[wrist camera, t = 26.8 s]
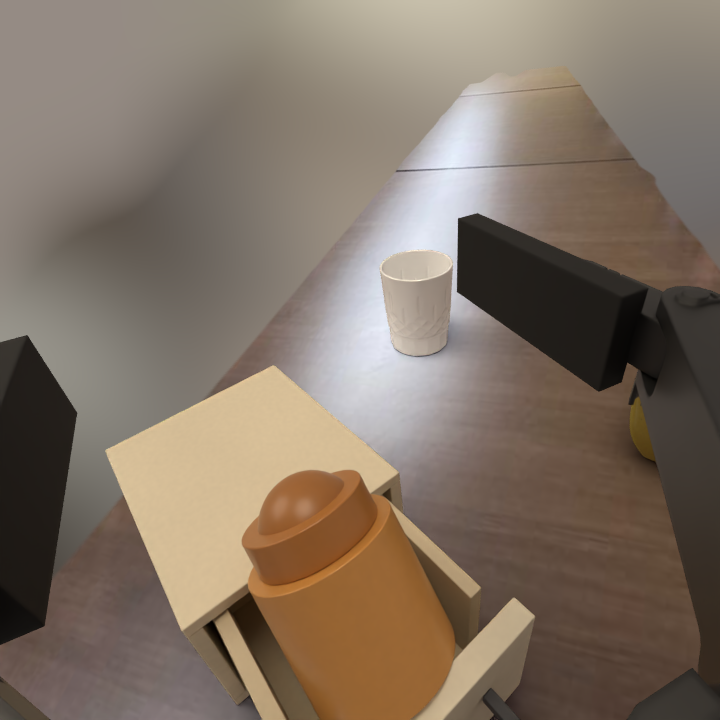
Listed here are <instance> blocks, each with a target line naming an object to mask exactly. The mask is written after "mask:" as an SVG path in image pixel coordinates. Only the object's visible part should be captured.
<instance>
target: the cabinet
mask: <svg viewBox="0 0 720 720" xmlns="http://www.w3.org/2000/svg"><path fill="white" fill-rule="evenodd" d="M106 454H107V456H108V459H109V461H110V464H111V466H112V468H113V471H114V473H115V475H116V478H117V480H118V482H119V485H120V487H121V490H122V492H123V494H124V497H125V499H126V501H127V504H128V506H129V508H130V511H131V513H132V515H133V518H134V520H135V523H136V525H137V527H138V530H139V532H140V534H141V537H142V539H143V541H144V544H145V546H146V548H147V551H148V553H149V556H150V558H151V560H152V563H153V565H154V567H155V570H156V572H157V574H158V577H159V579H160V581H161V584H162V586H163V589H164V591H165V593H166V596H167V598H168V600H169V603H170V605H171V607H172V610H173V612H174V614H175V617H176V619H177V622H178V624H179V626H180V629H181V631H182V632H183V634H184V635H185V636H186V637H187V639H188V640H189V642H190V643H191V644H192V646H193V647H194V648H195V650H196V651H197V652H198V654H199V655H200V656H201V658H202V659H203V660H204V662H205V663H206V664H207V666H208V667H209V668H210V670H211V671H212V672H213V674H214V675H215V676H216V678H217V679H218V680H219V682H220V683H221V684H222V686H223V687H224V688H225V690H226V691H227V692H228V694H229V695H230V696H231V698H232V699H233V700H234V702H235V703H236V704H237V705H239V704H240V703H241V702H242V701H243V700H245V699H246V698H247V697H248V696H249V695H250V694H249V692H248V690H247V688H246V686H245V684H244V682H243V680H242V678H241V676H240V674H239V672H238V670H237V668H236V666H235V664H234V662H233V660H232V658H231V656H230V653H229V651H228V649H227V647H226V645H225V643H224V641H223V639H222V637H221V635H220V633H219V631H218V629H217V627H216V625H215V623H214V621H213V619H214V618H215V617H217V616H218V615H219V614H221V613H222V612H223V611H225V610H226V609H227V608H229V607H230V606H231V605H233V604H234V603H235V602H237V601H238V600H240V599H241V598H242V597H244V596H245V595H246V594H248V593H249V592H250V591H249V588H248V579H249V575H250V572H251V570H252V569H253V567H254V566H253V564H252V562H251V561H250V559H249V557H248V555H247V553H246V551H245V550H244V548H243V546H242V536H243V534H244V532H245V531H246V529H247V528H248V527H249V525H250V524H251V523H252V522H253V521H254V520H255V519H256V518H257V517H258V516H259V514H260V510H261V507H262V505H263V502H264V500H265V499H266V497H267V495H268V494H269V492H270V491H271V490H272V489H273V487H274V486H276V485H277V484H278V483H279V482H280V481H281V480H283V479H284V478H286V477H287V476H289V475H291V474H294V473H297V472H300V471H305V470H320V471H325V472H328V473H333V472H337V471H342V470H355V471H357V472H358V473H360V475H361V477H362V479H363V481H364V483H365V485H366V487H367V489H368V490H369V492H370V494H375V495H381V494H382V495H383V496H384V497H385V498H387V499H388V500H389V501H390V502H391V503H392V504H393V505H394V506H395V507H396V508H397V509H398V510H399V511H400V512H401V513H402V514H403V506H402V496H401V486H400V476H399V472H398V471H397V470H396V469H395V468H393V467H392V466H391V465H390V464H389V463H388V462H386V461H385V460H384V459H383V458H382V457H381V456H379V455H378V454H377V453H376V452H375V451H373V450H372V449H371V448H370V447H369V446H368V445H366V444H365V443H364V442H363V441H362V440H361V439H359V438H358V437H357V436H356V435H355V434H354V433H352V432H351V431H350V430H349V429H348V428H347V427H345V426H344V425H343V424H342V423H341V422H340V421H338V420H337V419H336V418H335V417H334V416H333V415H331V414H330V413H329V412H328V411H327V410H326V409H324V408H323V407H322V406H321V405H320V404H319V403H317V402H316V401H315V400H314V399H313V398H312V397H310V396H309V395H308V394H307V393H306V392H305V391H303V390H302V389H301V388H300V387H299V386H298V385H296V384H295V383H294V382H293V381H292V380H291V379H289V378H288V377H287V376H286V375H285V374H284V373H282V372H281V371H280V370H279V369H278V368H277V367H275V366H274V365H273V366H271V367H269V368H267V369H265V370H263V371H261V372H259V373H257V374H255V375H253V376H251V377H249V378H247V379H245V380H243V381H241V382H239V383H237V384H235V385H233V386H231V387H230V388H228V389H226V390H224V391H222V392H220V393H218V394H216V395H214V396H212V397H210V398H208V399H206V400H204V401H202V402H200V403H198V404H196V405H194V406H192V407H190V408H188V409H186V410H184V411H182V412H180V413H178V414H176V415H174V416H172V417H170V418H168V419H166V420H164V421H162V422H160V423H158V424H156V425H154V426H153V427H150V428H148V429H146V430H144V431H142V432H141V433H138V434H137V435H135V436H133V437H131V438H129V439H127V440H125V441H123V442H121V443H119V444H117V445H115V446H113V447H111V448H109V449H107V450H106Z"/></svg>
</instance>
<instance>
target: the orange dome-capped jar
mask: <svg viewBox="0 0 720 720" xmlns="http://www.w3.org/2000/svg"><path fill="white" fill-rule="evenodd" d="M242 546H243V548H244V550H245V551H246V553H247V555H248V557H249V559H250V561H251V562H252V564H253V566H254V567H253V569H252V570H251V572H250V575H249V579H248V588H249V591H250V593H251V595H252V596H253V598H254V600H255V602H256V604H257V606H258V607H259V609H260V611H261V613H262V615H263V617H264V618H265V620H266V622H267V624H268V626H269V627H270V629H271V631H272V633H273V635H274V637H275V638H276V640H277V642H278V644H279V646H280V648H281V649H282V651H283V653H284V655H285V657H286V659H287V660H288V662H289V664H290V666H291V668H292V670H293V671H294V673H295V675H296V677H297V679H298V681H299V682H300V684H301V686H302V688H303V690H304V691H305V693H306V695H307V697H308V699H309V701H310V702H311V704H312V706H313V708H314V710H315V712H316V713H317V715H318V717H319V719H320V720H410V719H411V718H413V717H414V716H415V715H416V714H418V713H419V712H420V711H421V710H422V709H423V708H424V707H425V706H426V705H427V704H428V703H429V702H430V701H431V699H432V698H433V697H434V696H435V695H436V693H437V692H438V690H439V689H440V688H441V686H442V685H443V683H444V681H445V679H446V677H447V675H448V673H449V671H450V668H451V666H452V662H453V658H454V654H455V635H454V630H453V627H452V625H451V623H450V621H449V619H448V617H447V615H446V613H445V611H444V609H443V607H442V605H441V603H440V601H439V599H438V597H437V595H436V593H435V591H434V589H433V587H432V585H431V583H430V581H429V579H428V578H427V576H426V574H425V572H424V570H423V568H422V566H421V564H420V562H419V560H418V558H417V556H416V554H415V552H414V550H413V548H412V546H411V544H410V542H409V540H408V538H407V536H406V534H405V532H404V530H403V528H402V527H401V525H400V523H399V521H398V519H397V517H396V515H395V513H394V511H393V509H392V507H391V505H390V503H389V501H388V500H387V499H386V498H384V497H383V496H380V495H375V494H370V492H369V490H368V489H367V487H366V485H365V483H364V481H363V479H362V477H361V475H360V473H358V472H357V471H355V470H342V471H337V472H333V473H328V472H325V471H320V470H305V471H300V472H297V473H294V474H291V475H289V476H287V477H286V478H284V479H283V480H281V481H280V482H279V483H278V484H277V485H276V486H274V487H273V489H272V490H271V491H270V492H269V494H268V495H267V497H266V499H265V500H264V502H263V505H262V507H261V510H260V514H259V516H258V517H257V518H256V519H255V520H254V521H253V522H252V523H251V524H250V525H249V527H248V528H247V529H246V531H245V532H244V534H243V536H242Z"/></svg>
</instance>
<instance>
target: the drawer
mask: <svg viewBox="0 0 720 720" xmlns="http://www.w3.org/2000/svg"><path fill="white" fill-rule="evenodd" d="M380 496H383V495H382V494H381V495H380ZM383 497H384V496H383ZM384 498H385V497H384ZM386 499H387V498H386ZM387 500H388V499H387ZM388 501H389V500H388ZM389 503H390V505H391V507H392V509H393V511H394V513H395V515H396V517H397V519H398V521H399V523H400V525H401V527H402V528H403V530H404V532H405V534H406V536H407V538H408V540H409V542H410V544H411V546H412V548H413V550H414V552H415V554H416V556H417V558H418V560H419V562H420V564H421V566H422V568H423V570H424V572H425V574H426V576H427V578H428V579H429V581H430V583H431V585H432V587H433V589H434V591H435V593H436V595H437V597H438V599H439V601H440V603H441V605H442V607H443V609H444V611H445V613H446V615H447V617H448V619H449V621H450V623H451V625H452V627H453V630H454V635H455V654H454V658H453V662H452V666H451V668H450V671H449V673H448V675H447V677H446V679H445V681H444V683H443V685H442V686H441V688H440V689H439V690H438V692H437V693H436V695H435V696H434V697H433V698H432V699H431V701H430V702H429V703H428V704H427V705H426V706H425V707H424V708H423V709H422V710H421V711H420V712H419V713H418V714H416V715H415V716H414V717H413V718H411V719H410V720H490V719H491V718H492V716H493V715H495V716H496V717H497V719H498V720H520V719H519V718H518V716H517V715H516V714H515V713H514V712H513V711H512V710H511V709H510V708H509V707H508V705H507V704H506V703H505V701H506V700H507V698H508V697H509V696H510V695H511V694H512V692H513V691H514V690H515V689H516V688H517V687H518V685H519V684H520V681H521V676H522V672H523V668H524V663H525V659H526V654H527V650H528V646H529V641H530V637H531V633H532V628H533V624H534V619H535V616H534V615H533V614H532V613H531V612H530V611H529V610H528V609H527V608H525V607H524V606H523V605H522V604H521V603H520V602H519V601H518V600H517V599H515V598H512V599H511V600H510V601H509V602H508V603H507V604H506V606H505V607H504V608H503V609H502V610H501V611H500V612H499V613H498V614H497V615H496V616H495V617H494V618H493V619H492V620H491V621H490V622H489V623H488V624H487V625H486V627H485V628H484V629H483V630H482V631H481V632H480V633H479V634H478V625H479V612H480V599H481V587H480V586H479V585H478V584H477V583H476V582H475V581H474V580H473V579H472V578H470V577H469V576H468V575H467V574H466V573H465V572H464V571H463V570H462V569H461V568H460V567H459V566H458V565H457V564H456V563H455V562H453V561H452V560H451V559H450V558H449V557H448V556H447V555H446V554H445V553H444V552H443V551H442V550H441V549H440V548H439V547H438V546H436V545H435V544H434V543H433V542H432V541H431V540H430V539H429V538H428V537H427V536H426V535H425V534H424V533H423V532H422V531H421V530H419V529H418V528H417V527H416V526H415V525H414V524H413V523H412V522H411V521H410V520H409V519H408V518H407V517H406V516H405V515H404V514H402V513H401V512H400V511H399V510H398V509H397V508H396V507H395V506H394V505H393V504H392V503H391V502H390V501H389ZM213 621H214V623H215V625H216V627H217V629H218V631H219V633H220V635H221V637H222V639H223V641H224V643H225V645H226V647H227V649H228V651H229V653H230V656H231V658H232V660H233V662H234V664H235V666H236V668H237V670H238V672H239V674H240V676H241V678H242V680H243V682H244V684H245V686H246V688H247V690H248V692H249V694H250V696H251V698H252V700H253V702H254V704H255V706H256V708H257V710H258V712H259V714H260V716H261V718H262V720H320V719H319V717H318V715H317V713H316V712H315V710H314V708H313V706H312V704H311V702H310V701H309V699H308V697H307V695H306V693H305V691H304V690H303V688H302V686H301V684H300V682H299V681H298V679H297V677H296V675H295V673H294V671H293V670H292V668H291V666H290V664H289V662H288V660H287V659H286V657H285V655H284V653H283V651H282V649H281V648H280V646H279V644H278V642H277V640H276V638H275V637H274V635H273V633H272V631H271V629H270V627H269V626H268V624H267V622H266V620H265V618H264V617H263V615H262V613H261V611H260V609H259V607H258V606H257V604H256V602H255V600H254V598H253V596H252V595H251V593H250V592H249V593H248V594H246V595H245V596H244V597H242V598H241V599H240V600H238V601H237V602H235V603H234V604H233V605H231V606H230V607H229V608H227V609H226V610H225V611H223V612H222V613H221V614H219V615H218V616H217V617H215V618H214V619H213Z"/></svg>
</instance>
